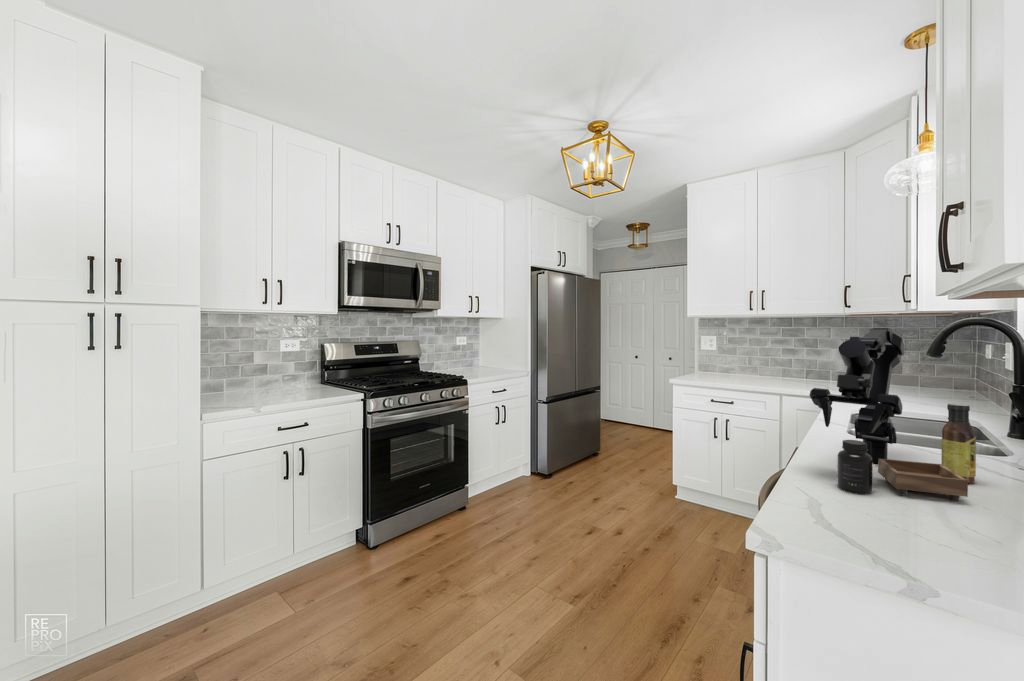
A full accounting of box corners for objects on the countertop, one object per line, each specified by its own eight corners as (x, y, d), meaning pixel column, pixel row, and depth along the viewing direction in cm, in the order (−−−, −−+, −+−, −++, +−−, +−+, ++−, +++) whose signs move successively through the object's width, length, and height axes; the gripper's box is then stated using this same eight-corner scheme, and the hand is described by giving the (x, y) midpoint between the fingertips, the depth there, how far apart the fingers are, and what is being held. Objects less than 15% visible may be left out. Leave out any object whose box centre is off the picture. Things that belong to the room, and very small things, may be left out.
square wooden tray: (878, 478, 115) (878, 458, 115) (941, 485, 109) (941, 464, 109) (896, 496, 103) (896, 473, 103) (967, 504, 98) (967, 480, 98)
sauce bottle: (978, 486, 109) (979, 407, 108) (943, 481, 112) (944, 405, 112) (972, 478, 114) (973, 403, 113) (938, 474, 118) (940, 401, 117)
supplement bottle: (839, 482, 113) (840, 436, 112) (874, 489, 108) (874, 441, 107) (834, 489, 108) (835, 442, 107) (870, 497, 103) (870, 447, 103)
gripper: (810, 359, 120) (797, 409, 115) (899, 363, 106) (889, 420, 100) (820, 380, 126) (809, 428, 121) (906, 386, 112) (897, 441, 106)
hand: (848, 429), depth 112 cm, fingers open, 9 cm apart
